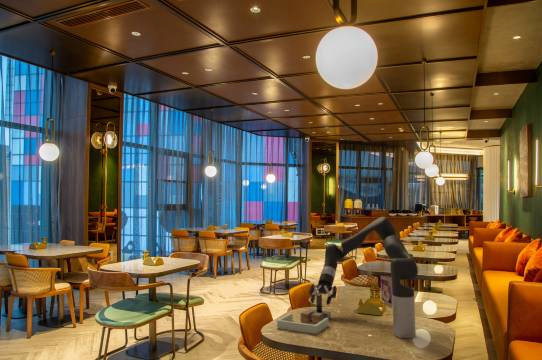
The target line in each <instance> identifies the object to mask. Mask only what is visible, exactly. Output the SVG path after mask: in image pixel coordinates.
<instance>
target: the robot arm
mask: <svg viewBox="0 0 542 360" xmlns="http://www.w3.org/2000/svg"><path fill="white" fill-rule="evenodd" d="M372 232H375V233H376V234H377V235H378V237H379V238H380V239H381V240H382V241H383V243H382V244H383V245H382V246H383V249H384V252H385V253H386V255H387V257H389V258H390V259H391V260H390V275H391V276H390V277H391V278H392V298H393V307H392V325H393V326H392V327H393V331H392V332H393V333H392V334H393V336H395V337H397V338H398V339H399V338H401V339H414V338H415V337H416V310H415V309H416V308H415V304H416V303H415V290H414V288H412V287H410V286H407V285H404V284H403V283H401V281H403V280H405V281H406V280H409V281H410V280H414V279H416V278H417V277H418V272H419V269H418V265H417V263H416V261H415V258H413V256H411V254H410V253H409V251H407V249H406V247H405V244H404V243H403V241H402V240H401V238H400V237H399V236H398V234H397V230H396V229H395V226H394V225H393V224H392V223H391V221H390V219H389V218H388V217H387V216H380V217H378V218H377V219H375V220H374V221H372V222H371V223H370V224H368V225H366V226H365V227H363V229H361V230H359V231H358V232H357V233H356V234H353V235H352V236H350V237H348V238H346V239H343V241H341V243H340V245H341V248H340V247H339V246H337V244H335V243H330V244H328V245H327V246H326V248H325V252H324V264H323V268H322V270H321V271H320V275H319V279H318V284H314V283H312V284H311V285H310V289H309V291H308V295H310V302H311V304H314V303H315V300H316V295H318V294H320V295H328V296H327V299H326V301H325V303H326V305H327V306H329V305H330V304H331V302H332V299H336V297H337V293H338V292H337V291H338V287H337V285H334V281H335V277H336V272H337V269H338V262H340V261H342V260H343V259H344V258H345V256H347V255H348V254H349V253H351V252H353V251H355V250H357V249H358V248H360V247H361V246H362V245H363V243H364V242H365V240H366V239H367V237H368V235H369V234H371V233H372ZM331 291H332V292H331ZM330 292H331V293H330Z"/></svg>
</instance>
